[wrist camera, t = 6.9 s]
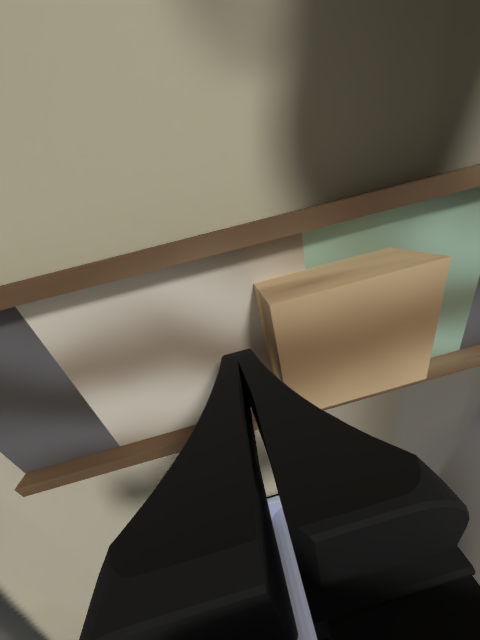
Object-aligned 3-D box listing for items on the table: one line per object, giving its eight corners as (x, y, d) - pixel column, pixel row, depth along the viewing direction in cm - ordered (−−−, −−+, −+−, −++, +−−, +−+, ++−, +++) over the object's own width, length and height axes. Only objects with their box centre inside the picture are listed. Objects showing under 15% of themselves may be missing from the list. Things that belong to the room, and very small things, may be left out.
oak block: (381, 346, 13) (426, 378, 11) (272, 377, 13) (289, 417, 10) (389, 247, 11) (451, 256, 8) (253, 283, 10) (269, 305, 8)
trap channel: (518, 338, 15) (542, 347, 14) (37, 475, 14) (23, 496, 13) (602, 132, 10) (649, 121, 9) (-138, 321, 9) (-185, 334, 8)
